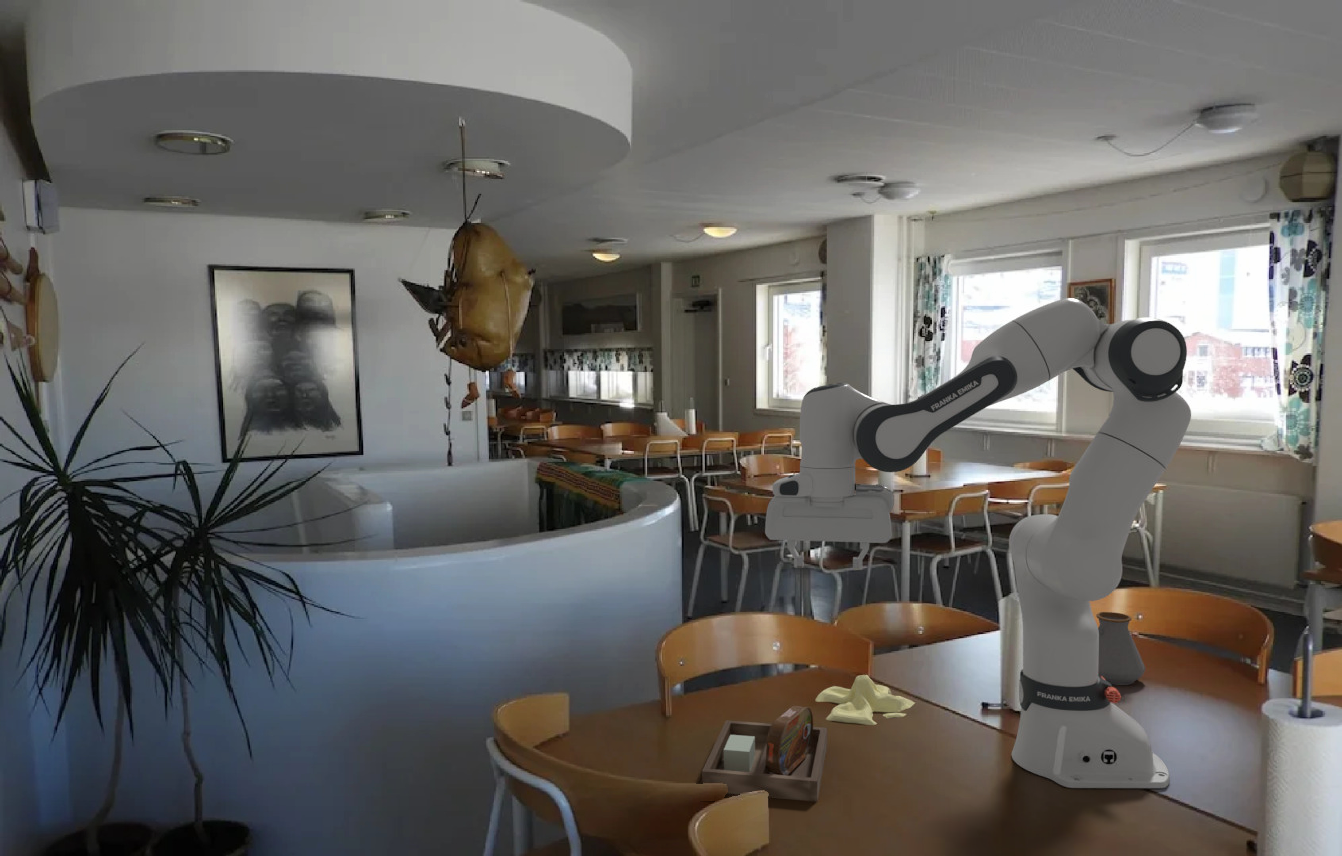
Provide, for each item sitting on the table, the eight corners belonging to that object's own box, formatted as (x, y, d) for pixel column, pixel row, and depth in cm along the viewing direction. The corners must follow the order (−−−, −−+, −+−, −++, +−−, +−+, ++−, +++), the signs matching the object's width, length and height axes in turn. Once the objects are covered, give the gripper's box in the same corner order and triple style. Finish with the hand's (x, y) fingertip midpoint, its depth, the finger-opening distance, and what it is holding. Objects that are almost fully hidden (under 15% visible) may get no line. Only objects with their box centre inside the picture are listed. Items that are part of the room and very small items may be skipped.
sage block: (755, 757, 146) (754, 736, 146) (749, 773, 141) (749, 751, 140) (730, 755, 147) (730, 734, 147) (724, 771, 142) (723, 749, 141)
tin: (778, 784, 135) (784, 729, 135) (759, 778, 136) (764, 723, 136) (812, 752, 148) (817, 702, 148) (794, 747, 150) (799, 697, 149)
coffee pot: (1115, 666, 190) (1116, 596, 189) (1158, 685, 179) (1159, 610, 178) (1028, 677, 184) (1028, 605, 183) (1066, 697, 173) (1067, 620, 172)
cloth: (838, 733, 160) (838, 698, 159) (796, 697, 177) (796, 666, 177) (950, 718, 165) (950, 684, 165) (899, 684, 183) (899, 654, 183)
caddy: (827, 751, 151) (826, 727, 150) (817, 808, 131) (817, 781, 131) (726, 743, 155) (726, 720, 155) (702, 797, 135) (702, 771, 135)
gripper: (893, 482, 147) (893, 566, 148) (768, 480, 152) (769, 561, 153) (893, 487, 141) (893, 574, 142) (763, 485, 146) (763, 570, 147)
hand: (828, 568), depth 148 cm, fingers open, 8 cm apart
